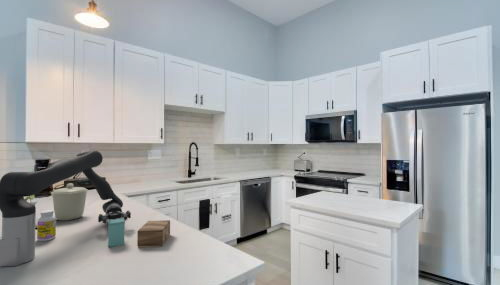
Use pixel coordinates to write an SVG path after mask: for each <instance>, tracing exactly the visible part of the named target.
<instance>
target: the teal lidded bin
mask: <svg viewBox="0 0 500 285" xmlns="http://www.w3.org/2000/svg"><path fill="white" fill-rule="evenodd" d="M107 223H108V224H107V225H108V227H107V228H108V232H107V234H108V235H107V236H108V237H107V238H108V239H107V240H108V241H107V246H108V248H114V247H119V246H124V245H125V224H126V222H125V221H124V218H122V219H114V220H108V221H107Z"/></svg>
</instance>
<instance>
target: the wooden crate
mask: <svg viewBox="0 0 500 285" xmlns="http://www.w3.org/2000/svg"><path fill="white" fill-rule="evenodd" d="M170 236H171V220H148V221H147V222H146V223H145V224H143V225H142V226H141V227H140V228H139V229H138V230H137V239H136V241H137V243H136V246H137V248H154V247H153V246H160V247H163V246H164V244H165V242H166V241H167V239H168V238H169V237H170Z"/></svg>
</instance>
